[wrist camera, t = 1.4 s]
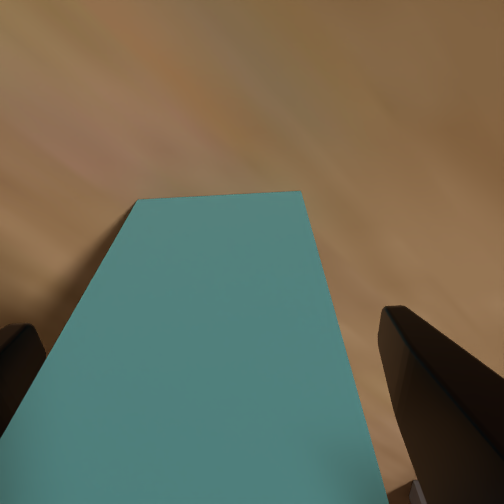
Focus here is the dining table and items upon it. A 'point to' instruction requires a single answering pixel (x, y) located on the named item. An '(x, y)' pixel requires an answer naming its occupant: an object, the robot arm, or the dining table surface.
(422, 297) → the dining table surface
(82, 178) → the dining table surface
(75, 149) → the dining table surface
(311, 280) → the teal domino
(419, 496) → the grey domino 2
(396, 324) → the robot arm
